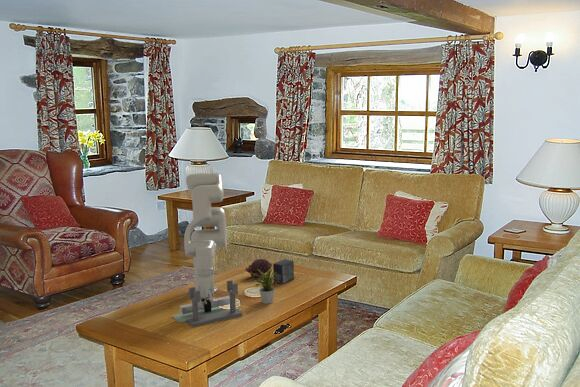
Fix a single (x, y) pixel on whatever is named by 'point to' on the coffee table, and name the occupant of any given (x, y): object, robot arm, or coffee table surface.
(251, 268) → the pine cone
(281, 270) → the small box
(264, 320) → the coffee table surface
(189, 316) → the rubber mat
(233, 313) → the grey base with uprights
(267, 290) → the house plant
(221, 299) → the steel rail
